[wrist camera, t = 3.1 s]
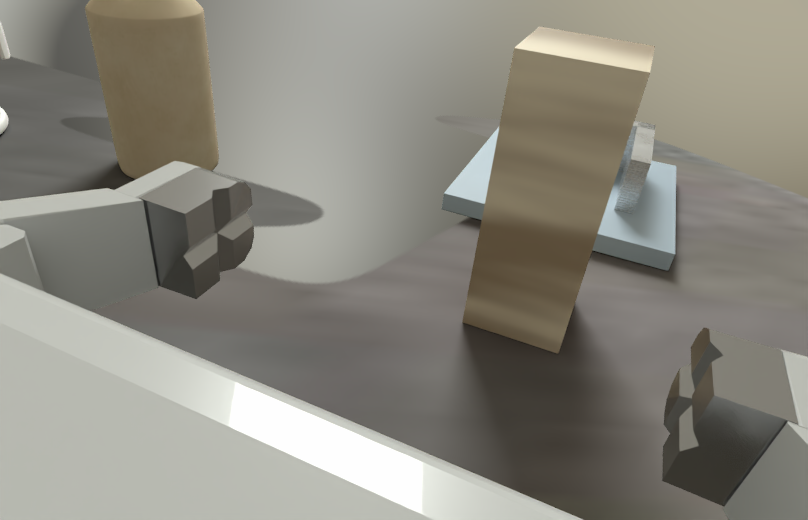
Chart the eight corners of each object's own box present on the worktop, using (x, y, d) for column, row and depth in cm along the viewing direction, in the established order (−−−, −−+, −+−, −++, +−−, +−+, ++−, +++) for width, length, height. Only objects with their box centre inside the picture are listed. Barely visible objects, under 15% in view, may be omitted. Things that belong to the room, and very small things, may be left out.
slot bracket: (497, 180, 33) (507, 131, 31) (522, 143, 38) (532, 99, 36) (632, 214, 30) (651, 163, 29) (639, 170, 36) (655, 125, 34)
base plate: (441, 209, 31) (443, 193, 31) (496, 139, 41) (499, 126, 40) (667, 271, 28) (675, 254, 27) (670, 179, 37) (676, 166, 37)
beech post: (558, 353, 22) (650, 72, 16) (462, 322, 23) (514, 47, 17) (573, 299, 25) (654, 46, 19) (488, 273, 26) (539, 26, 20)
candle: (238, 165, 34) (223, -19, 28) (153, 193, 30) (116, -12, 24) (184, 137, 36) (160, -36, 31) (100, 160, 33) (55, -32, 27)
